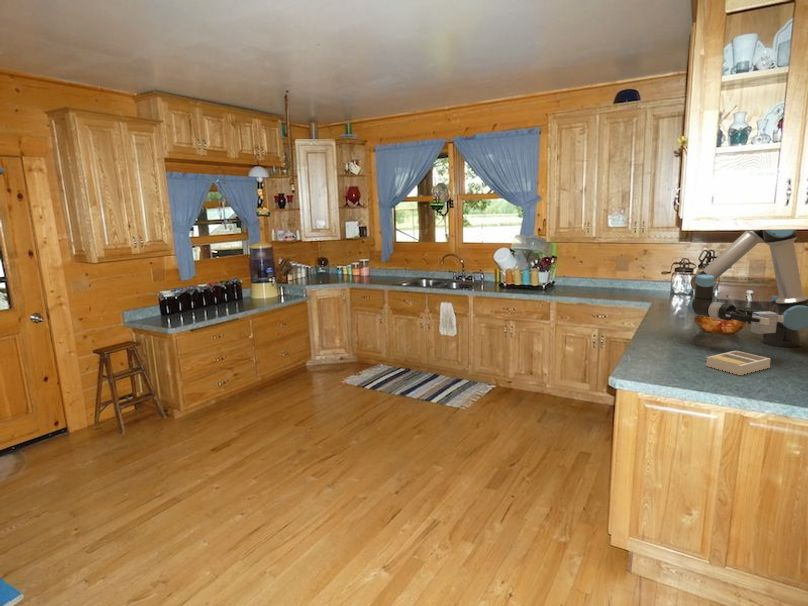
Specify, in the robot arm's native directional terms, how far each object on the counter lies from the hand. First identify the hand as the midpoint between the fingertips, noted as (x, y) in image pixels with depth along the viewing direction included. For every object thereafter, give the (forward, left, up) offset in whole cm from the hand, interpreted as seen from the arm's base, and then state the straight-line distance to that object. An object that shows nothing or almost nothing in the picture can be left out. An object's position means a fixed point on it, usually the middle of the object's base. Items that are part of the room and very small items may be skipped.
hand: (776, 320), depth 205 cm
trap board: (+17, -4, -18) cm, 25 cm away
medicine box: (0, -5, -6) cm, 8 cm away
